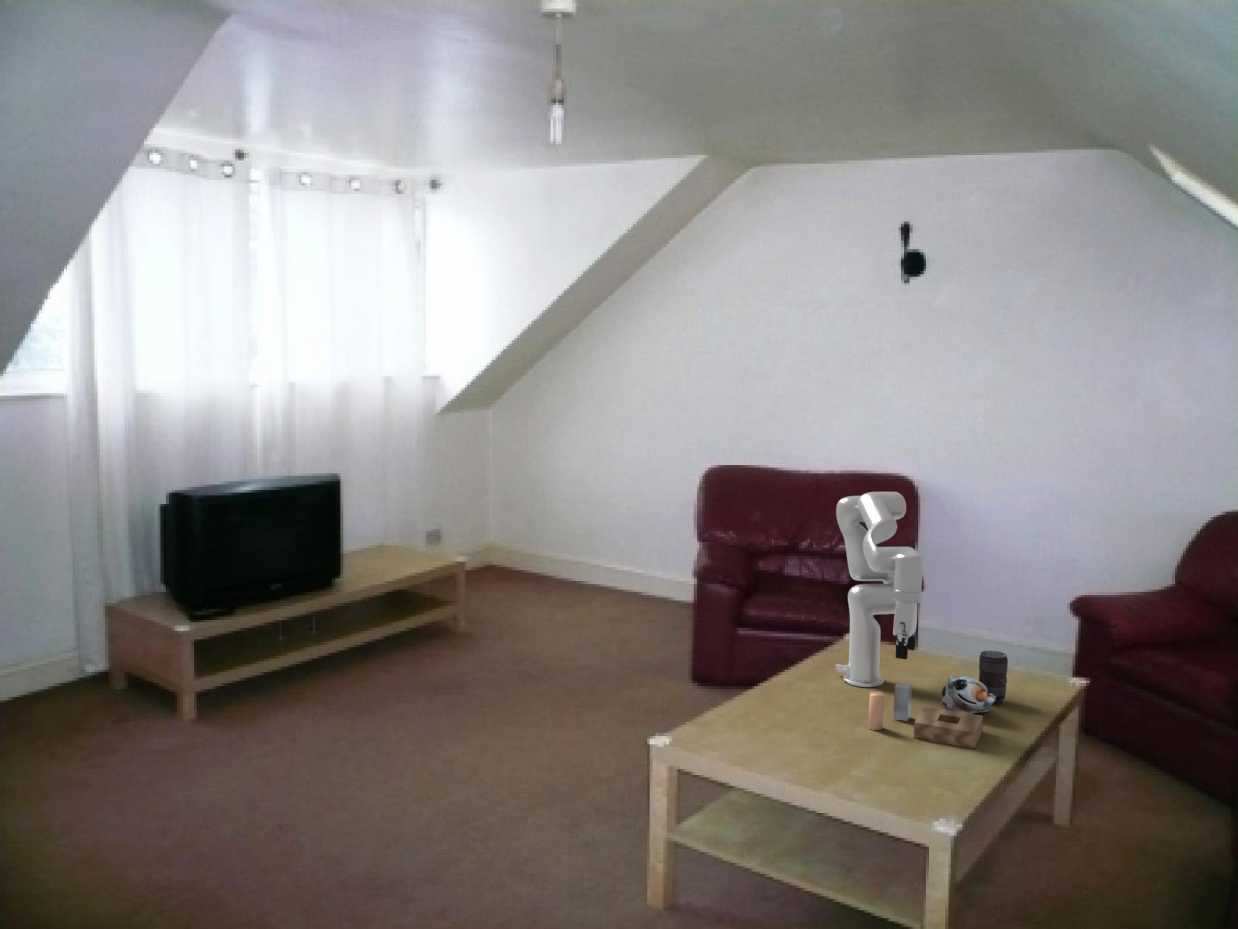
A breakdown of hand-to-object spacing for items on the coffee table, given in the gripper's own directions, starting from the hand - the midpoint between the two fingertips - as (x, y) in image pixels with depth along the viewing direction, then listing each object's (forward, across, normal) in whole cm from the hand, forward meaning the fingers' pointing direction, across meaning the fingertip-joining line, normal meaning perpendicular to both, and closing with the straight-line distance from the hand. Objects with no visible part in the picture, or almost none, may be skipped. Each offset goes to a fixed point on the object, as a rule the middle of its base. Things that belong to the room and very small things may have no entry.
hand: (905, 654), depth 295 cm
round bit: (+20, +11, -5) cm, 23 cm away
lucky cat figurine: (+20, -16, +16) cm, 30 cm away
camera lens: (+20, -27, +21) cm, 40 cm away
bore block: (+20, +6, +14) cm, 25 cm away
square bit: (+20, 0, 0) cm, 20 cm away
